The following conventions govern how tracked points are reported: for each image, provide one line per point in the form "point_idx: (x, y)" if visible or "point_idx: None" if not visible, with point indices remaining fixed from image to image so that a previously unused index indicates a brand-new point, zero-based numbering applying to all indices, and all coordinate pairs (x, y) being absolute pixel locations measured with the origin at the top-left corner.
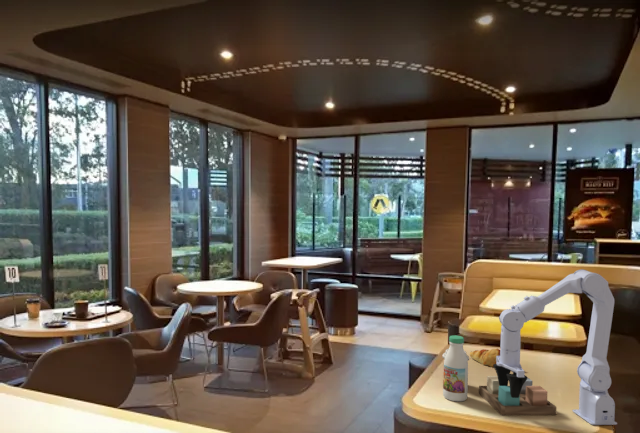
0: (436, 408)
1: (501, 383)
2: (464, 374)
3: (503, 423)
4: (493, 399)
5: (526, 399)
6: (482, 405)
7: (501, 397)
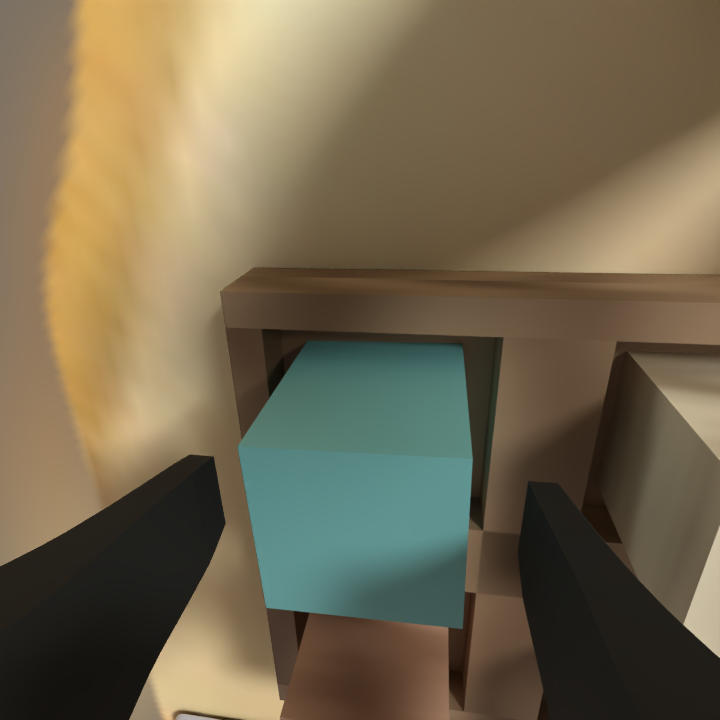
0: None
1: (540, 539)
2: None
3: (82, 202)
4: (446, 294)
5: None
6: (506, 160)
7: (383, 383)
